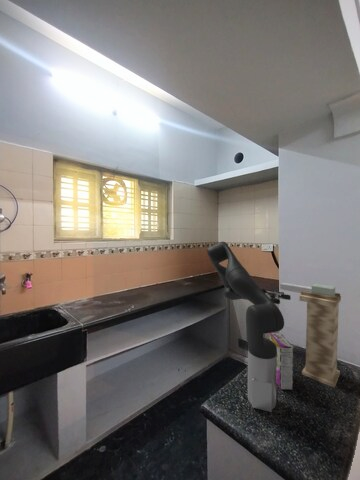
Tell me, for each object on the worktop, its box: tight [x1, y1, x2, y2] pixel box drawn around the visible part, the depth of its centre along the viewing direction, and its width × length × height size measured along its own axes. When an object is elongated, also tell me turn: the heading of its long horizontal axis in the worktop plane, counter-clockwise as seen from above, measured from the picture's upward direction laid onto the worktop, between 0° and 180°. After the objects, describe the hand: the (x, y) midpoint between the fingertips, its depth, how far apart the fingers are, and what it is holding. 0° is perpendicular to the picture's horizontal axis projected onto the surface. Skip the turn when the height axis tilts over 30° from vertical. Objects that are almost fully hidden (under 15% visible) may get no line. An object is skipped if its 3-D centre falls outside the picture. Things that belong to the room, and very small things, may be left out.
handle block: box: [279, 282, 336, 297], centre depth 92 cm, size 20×5×4 cm, turn 46°
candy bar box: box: [268, 332, 294, 391], centre depth 86 cm, size 11×5×16 cm, turn 179°
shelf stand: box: [298, 291, 342, 389], centre depth 89 cm, size 12×11×33 cm
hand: (285, 299), depth 102 cm, fingers open, 8 cm apart
